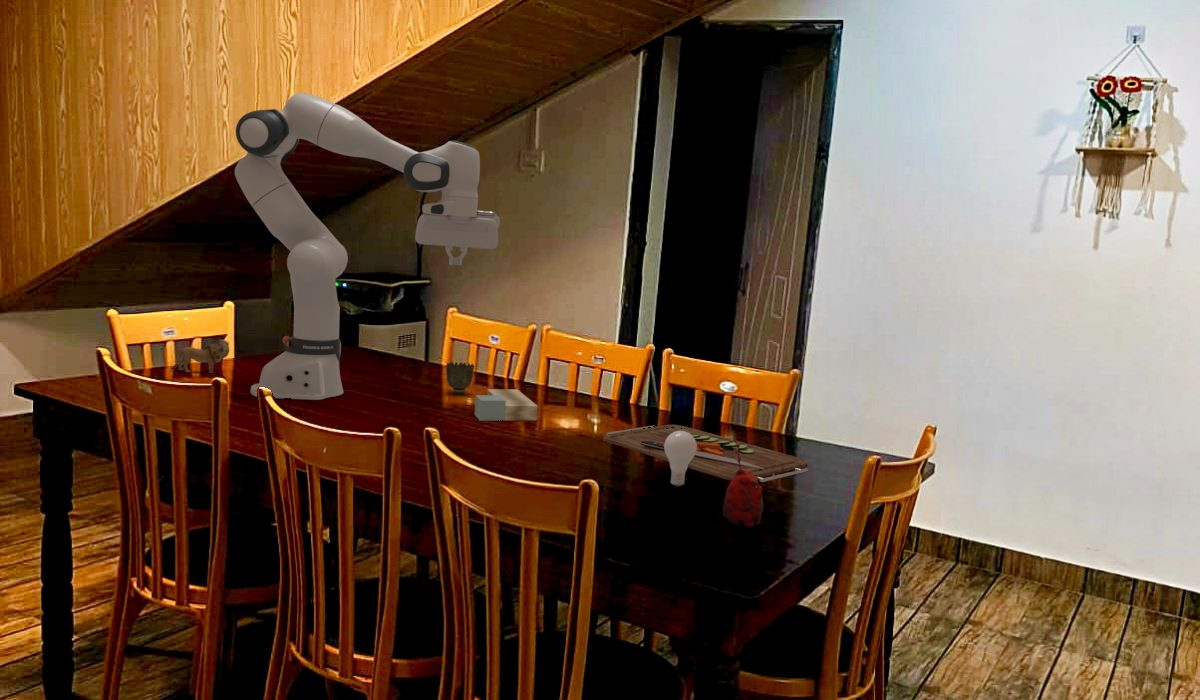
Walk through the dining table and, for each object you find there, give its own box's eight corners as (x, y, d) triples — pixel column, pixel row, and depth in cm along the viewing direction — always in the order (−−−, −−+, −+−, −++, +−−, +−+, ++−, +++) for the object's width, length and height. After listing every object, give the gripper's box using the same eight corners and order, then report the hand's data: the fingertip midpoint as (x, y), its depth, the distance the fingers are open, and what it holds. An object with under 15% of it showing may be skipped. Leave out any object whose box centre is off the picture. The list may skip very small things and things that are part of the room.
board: (504, 420, 248) (505, 406, 247) (486, 402, 266) (487, 389, 266) (536, 420, 250) (537, 406, 250) (516, 402, 269) (517, 389, 268)
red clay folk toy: (761, 531, 178) (769, 446, 176) (720, 526, 180) (728, 441, 177) (761, 517, 186) (770, 436, 184) (722, 513, 187) (730, 432, 185)
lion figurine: (229, 370, 283) (230, 338, 281) (228, 374, 278) (228, 341, 276) (171, 369, 279) (172, 336, 277) (169, 373, 273) (169, 339, 272)
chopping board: (822, 470, 225) (823, 456, 224) (746, 488, 206) (748, 473, 206) (667, 426, 256) (668, 414, 256) (590, 439, 238) (590, 426, 237)
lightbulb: (691, 482, 206) (696, 428, 204) (695, 491, 199) (700, 436, 198) (659, 480, 205) (664, 426, 204) (662, 489, 199) (667, 433, 197)
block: (479, 421, 246) (481, 400, 245) (474, 415, 251) (475, 395, 250) (504, 421, 248) (505, 400, 247) (498, 415, 253) (500, 395, 252)
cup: (470, 397, 271) (472, 367, 270) (442, 395, 271) (444, 365, 270) (474, 392, 278) (476, 362, 277) (447, 390, 279) (448, 360, 277)
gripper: (497, 211, 260) (493, 266, 262) (416, 205, 254) (412, 261, 256) (503, 212, 254) (499, 268, 257) (419, 206, 248) (416, 263, 250)
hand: (455, 265), depth 256 cm, fingers closed
